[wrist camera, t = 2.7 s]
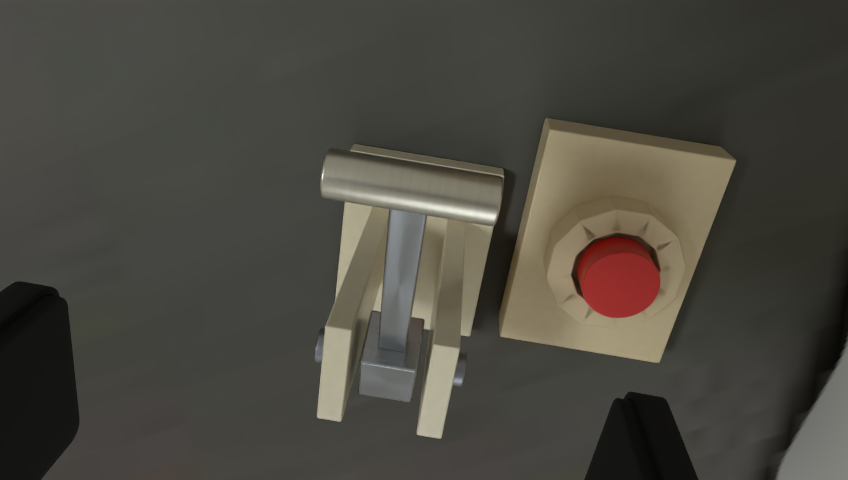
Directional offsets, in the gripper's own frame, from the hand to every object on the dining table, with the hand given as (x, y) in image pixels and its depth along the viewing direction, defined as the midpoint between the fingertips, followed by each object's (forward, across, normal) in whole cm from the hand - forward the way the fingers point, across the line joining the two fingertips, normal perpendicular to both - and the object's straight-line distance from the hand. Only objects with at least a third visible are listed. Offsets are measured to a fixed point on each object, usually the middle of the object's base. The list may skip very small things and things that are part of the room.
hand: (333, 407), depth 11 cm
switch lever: (+12, 0, +3) cm, 12 cm away
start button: (+20, -10, +6) cm, 23 cm away
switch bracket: (+24, 0, +8) cm, 25 cm away
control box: (+24, -10, +6) cm, 27 cm away
